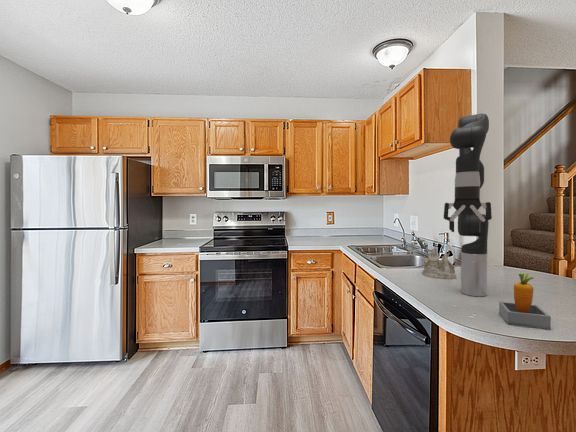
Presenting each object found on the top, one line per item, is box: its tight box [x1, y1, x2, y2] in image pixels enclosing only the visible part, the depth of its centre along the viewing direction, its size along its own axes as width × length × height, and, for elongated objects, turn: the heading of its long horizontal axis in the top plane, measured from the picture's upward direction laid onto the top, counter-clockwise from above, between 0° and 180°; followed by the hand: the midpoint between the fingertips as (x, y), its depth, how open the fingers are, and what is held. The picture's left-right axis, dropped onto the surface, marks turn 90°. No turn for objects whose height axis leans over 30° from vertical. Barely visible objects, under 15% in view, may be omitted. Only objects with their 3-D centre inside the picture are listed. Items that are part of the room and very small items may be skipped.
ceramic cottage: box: [421, 248, 458, 281], centre depth 158 cm, size 16×16×15 cm
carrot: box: [513, 272, 535, 313], centre depth 97 cm, size 5×5×15 cm
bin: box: [498, 301, 552, 331], centre depth 97 cm, size 11×11×4 cm
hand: (466, 232), depth 105 cm, fingers open, 8 cm apart
